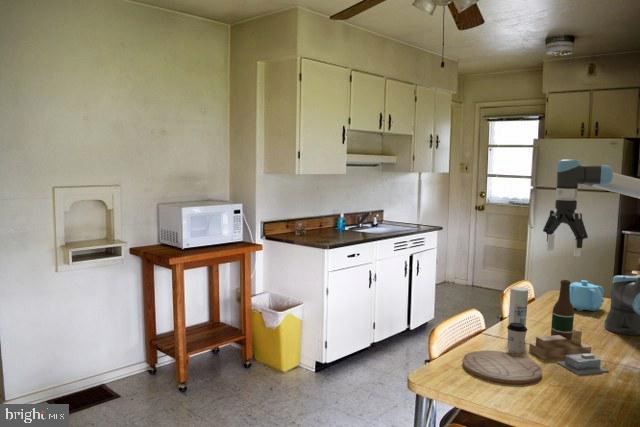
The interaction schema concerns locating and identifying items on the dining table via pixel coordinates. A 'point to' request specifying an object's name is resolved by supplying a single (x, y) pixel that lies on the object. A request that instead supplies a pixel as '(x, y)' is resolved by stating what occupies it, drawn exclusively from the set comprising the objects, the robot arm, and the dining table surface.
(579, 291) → the decorative pot
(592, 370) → the mat
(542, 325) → the dining table surface
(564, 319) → the beer bottle
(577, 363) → the lever cap
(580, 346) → the plane body
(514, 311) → the spray can
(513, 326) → the coffee cup
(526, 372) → the trivet
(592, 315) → the dining table surface
